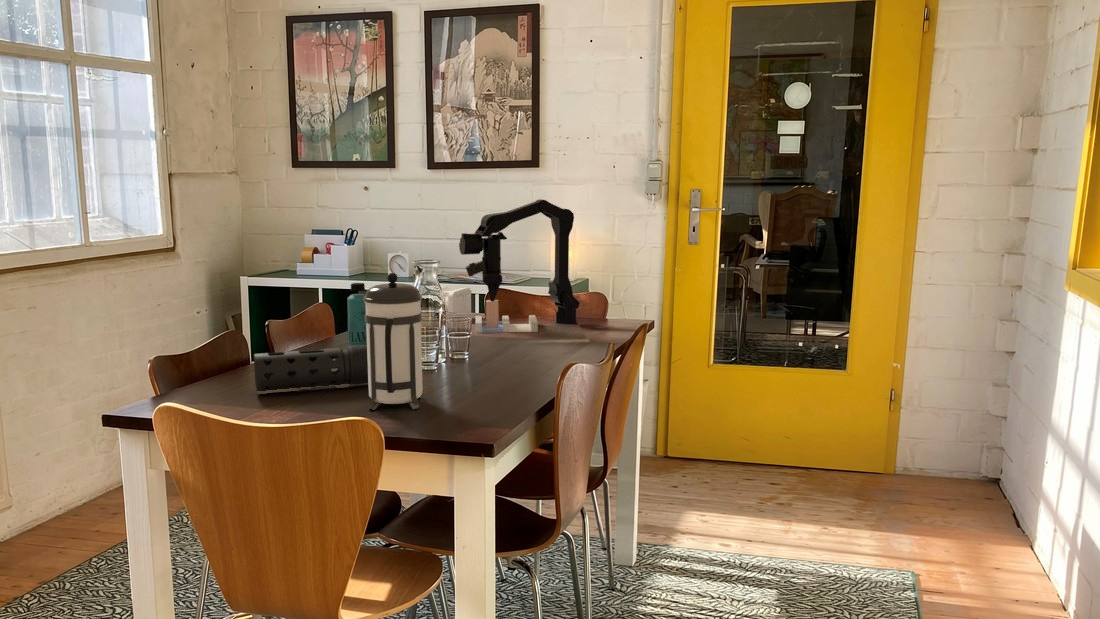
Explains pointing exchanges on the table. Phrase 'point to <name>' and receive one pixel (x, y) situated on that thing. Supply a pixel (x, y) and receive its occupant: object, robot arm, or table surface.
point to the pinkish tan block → (492, 314)
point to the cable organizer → (457, 300)
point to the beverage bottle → (357, 316)
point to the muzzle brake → (311, 368)
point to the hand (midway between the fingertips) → (492, 301)
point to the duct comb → (507, 325)
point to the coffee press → (394, 342)
